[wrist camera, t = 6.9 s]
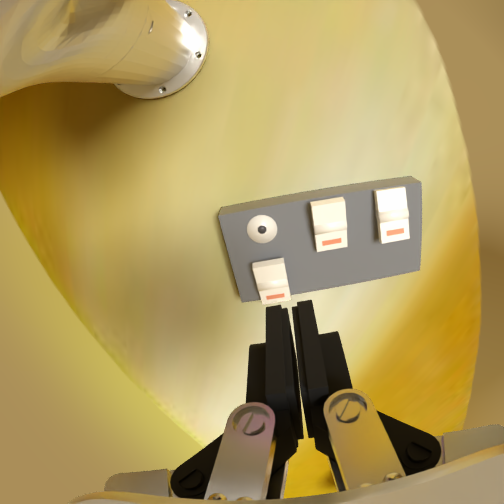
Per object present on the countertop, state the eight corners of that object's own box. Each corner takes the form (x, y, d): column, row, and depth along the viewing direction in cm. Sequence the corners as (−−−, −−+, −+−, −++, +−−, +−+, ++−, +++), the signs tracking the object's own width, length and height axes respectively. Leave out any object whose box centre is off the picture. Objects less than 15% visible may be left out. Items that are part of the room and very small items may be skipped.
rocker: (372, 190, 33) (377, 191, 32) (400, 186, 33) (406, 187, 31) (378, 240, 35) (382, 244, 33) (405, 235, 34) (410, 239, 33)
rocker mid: (309, 200, 33) (312, 208, 32) (342, 195, 32) (345, 202, 31) (315, 245, 36) (317, 253, 35) (344, 240, 36) (348, 248, 35)
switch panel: (221, 207, 38) (217, 216, 35) (410, 176, 35) (422, 182, 32) (243, 289, 43) (241, 303, 40) (411, 259, 40) (420, 271, 37)
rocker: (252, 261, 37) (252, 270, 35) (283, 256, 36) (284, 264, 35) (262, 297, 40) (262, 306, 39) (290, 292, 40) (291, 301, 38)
